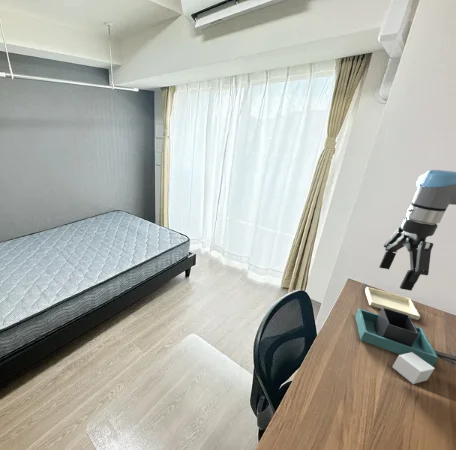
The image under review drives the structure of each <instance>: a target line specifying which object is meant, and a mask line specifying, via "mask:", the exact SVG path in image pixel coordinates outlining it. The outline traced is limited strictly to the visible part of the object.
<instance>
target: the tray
mask: <svg viewBox="0 0 456 450" xmlns="http://www.w3.org/2000/svg"><path fill="white" fill-rule="evenodd" d="M364 293H365V296H366V299H367V302H368V305H369V306H370V307H373V308H376V309H377V308H378V309H380V310H381V309H382V307H383V308H386V309H390V310H393V311H396V312H400V313H403V314H406V315H409V316H410V318H411V319H413V320H416V321H419V320H420V318H421V314H420V313H419V311H418V310H417V308H416V305H414V302H413V301H412V299H411V298H410V297H405V296H402V295H398V294H395V293H391V292H387V291H385V290H380V289H377V288H373V287H369V286H366V287H365V289H364Z"/></svg>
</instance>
